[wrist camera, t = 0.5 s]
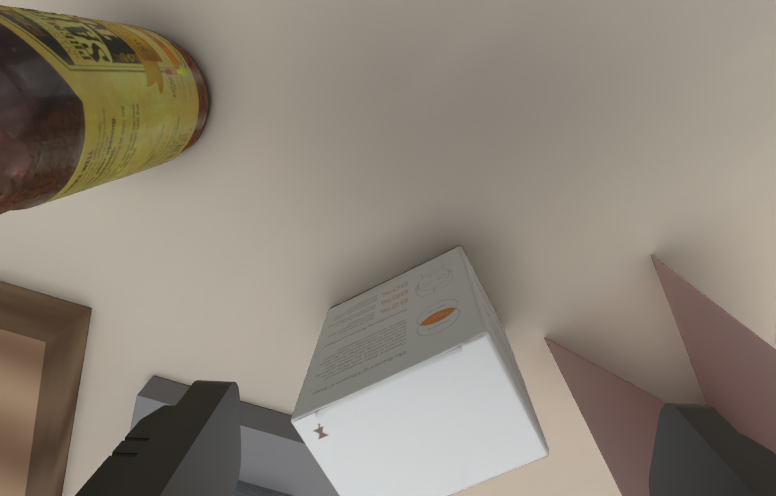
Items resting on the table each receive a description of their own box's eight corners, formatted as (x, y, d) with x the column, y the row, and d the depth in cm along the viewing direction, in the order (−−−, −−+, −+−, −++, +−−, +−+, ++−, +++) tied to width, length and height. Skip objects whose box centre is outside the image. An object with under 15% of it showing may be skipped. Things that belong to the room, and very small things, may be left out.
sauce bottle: (215, 35, 26) (-301, -60, 7) (213, 168, 28) (-202, 368, 9) (76, 19, 26) (-798, -115, 7) (83, 153, 28) (-597, 322, 9)
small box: (375, 389, 31) (358, 537, 21) (326, 306, 30) (283, 424, 20) (507, 330, 30) (555, 460, 20) (462, 241, 29) (489, 332, 19)
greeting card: (733, 425, 31) (1005, 725, 17) (604, 471, 32) (756, 786, 18) (668, 247, 28) (928, 427, 14) (529, 305, 30) (639, 524, 15)
